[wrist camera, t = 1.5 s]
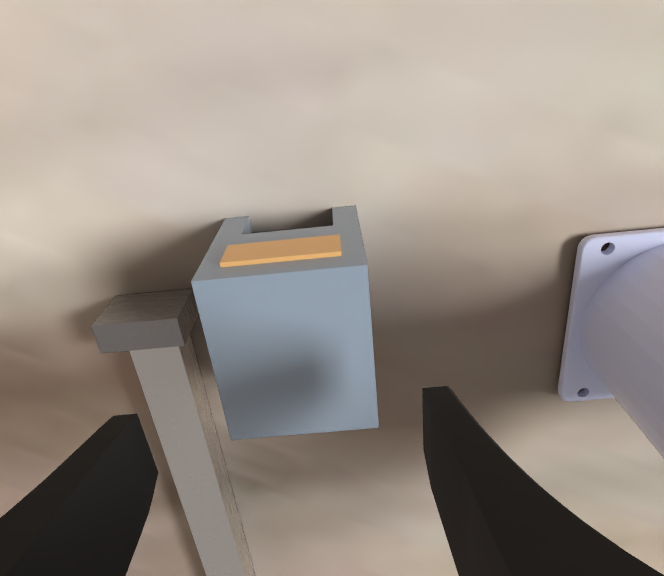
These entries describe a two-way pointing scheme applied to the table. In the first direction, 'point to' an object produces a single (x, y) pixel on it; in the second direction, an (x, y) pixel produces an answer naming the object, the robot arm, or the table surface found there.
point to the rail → (180, 417)
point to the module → (289, 327)
